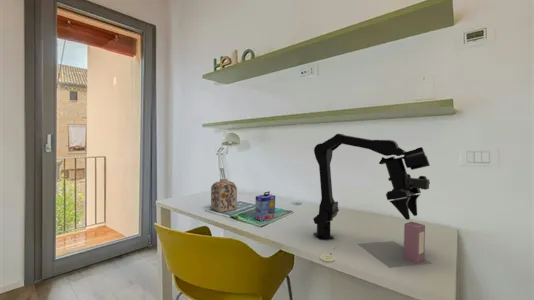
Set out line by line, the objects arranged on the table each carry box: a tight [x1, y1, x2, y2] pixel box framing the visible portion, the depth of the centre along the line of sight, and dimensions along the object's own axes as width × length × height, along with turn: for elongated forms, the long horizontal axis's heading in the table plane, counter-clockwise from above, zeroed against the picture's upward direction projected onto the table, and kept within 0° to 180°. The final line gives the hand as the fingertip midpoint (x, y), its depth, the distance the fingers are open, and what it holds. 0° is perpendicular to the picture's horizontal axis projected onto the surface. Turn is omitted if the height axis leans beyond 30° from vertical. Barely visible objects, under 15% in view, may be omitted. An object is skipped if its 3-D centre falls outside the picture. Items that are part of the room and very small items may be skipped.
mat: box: [357, 240, 432, 268], centre depth 91 cm, size 19×16×1 cm
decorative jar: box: [210, 178, 238, 213], centre depth 150 cm, size 12×12×18 cm
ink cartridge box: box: [254, 191, 276, 222], centre depth 132 cm, size 10×6×14 cm, turn 132°
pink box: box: [403, 221, 426, 264], centre depth 85 cm, size 4×4×12 cm
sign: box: [319, 245, 337, 264], centre depth 91 cm, size 5×1×15 cm
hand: (412, 217), depth 86 cm, fingers open, 9 cm apart
